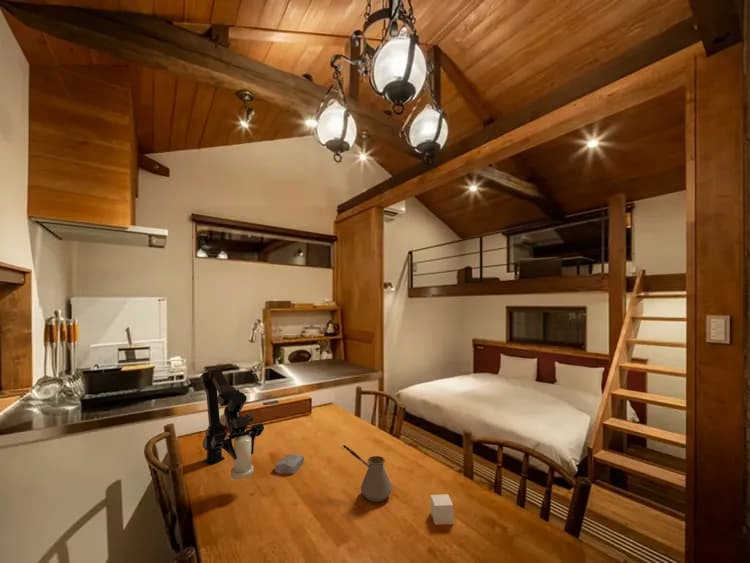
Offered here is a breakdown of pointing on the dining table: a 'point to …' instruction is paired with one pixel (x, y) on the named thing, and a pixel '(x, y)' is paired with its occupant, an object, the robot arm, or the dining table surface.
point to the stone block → (289, 464)
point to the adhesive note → (441, 509)
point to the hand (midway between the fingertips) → (244, 456)
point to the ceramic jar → (242, 458)
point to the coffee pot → (374, 478)
